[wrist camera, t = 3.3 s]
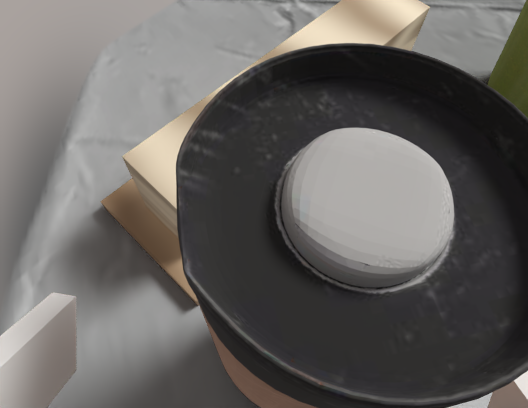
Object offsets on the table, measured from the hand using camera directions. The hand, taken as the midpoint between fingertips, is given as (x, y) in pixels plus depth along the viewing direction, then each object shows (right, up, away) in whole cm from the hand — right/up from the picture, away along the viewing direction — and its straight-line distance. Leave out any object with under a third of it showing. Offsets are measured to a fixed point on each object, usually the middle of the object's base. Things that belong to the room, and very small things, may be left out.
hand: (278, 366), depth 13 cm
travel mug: (+1, -4, +13) cm, 13 cm away
